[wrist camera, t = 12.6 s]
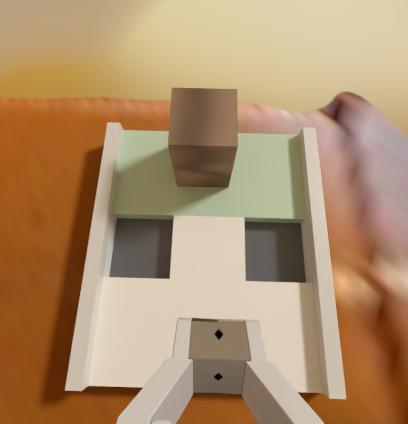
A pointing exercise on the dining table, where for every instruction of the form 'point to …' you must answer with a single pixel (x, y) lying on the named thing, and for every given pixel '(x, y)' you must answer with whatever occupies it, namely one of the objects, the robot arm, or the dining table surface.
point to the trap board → (207, 261)
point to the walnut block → (203, 136)
